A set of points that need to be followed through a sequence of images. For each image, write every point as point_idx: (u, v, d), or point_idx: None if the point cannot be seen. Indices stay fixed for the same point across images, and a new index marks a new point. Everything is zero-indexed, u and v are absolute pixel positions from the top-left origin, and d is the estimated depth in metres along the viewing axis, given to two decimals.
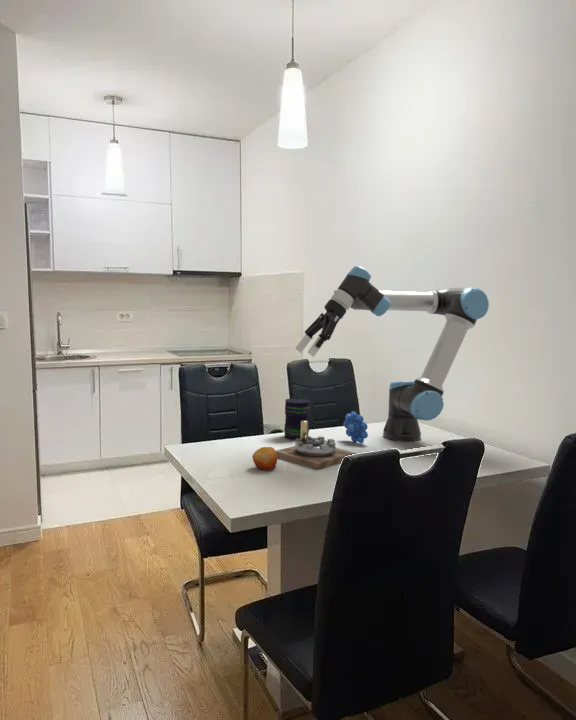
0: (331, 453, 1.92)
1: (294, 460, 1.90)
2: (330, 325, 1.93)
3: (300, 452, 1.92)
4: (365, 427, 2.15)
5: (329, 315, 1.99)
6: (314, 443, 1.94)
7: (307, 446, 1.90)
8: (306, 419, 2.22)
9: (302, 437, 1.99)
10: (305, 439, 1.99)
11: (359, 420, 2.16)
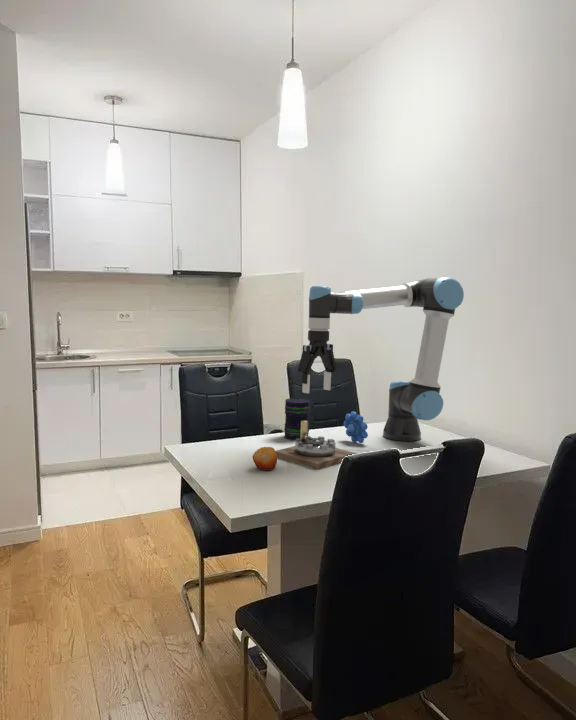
0: (331, 453, 1.92)
1: (294, 460, 1.90)
2: (301, 358, 1.97)
3: (300, 452, 1.92)
4: (365, 427, 2.15)
5: None
6: (314, 443, 1.94)
7: (307, 446, 1.90)
8: (306, 419, 2.22)
9: (302, 437, 1.99)
10: (305, 439, 1.99)
11: (359, 420, 2.16)
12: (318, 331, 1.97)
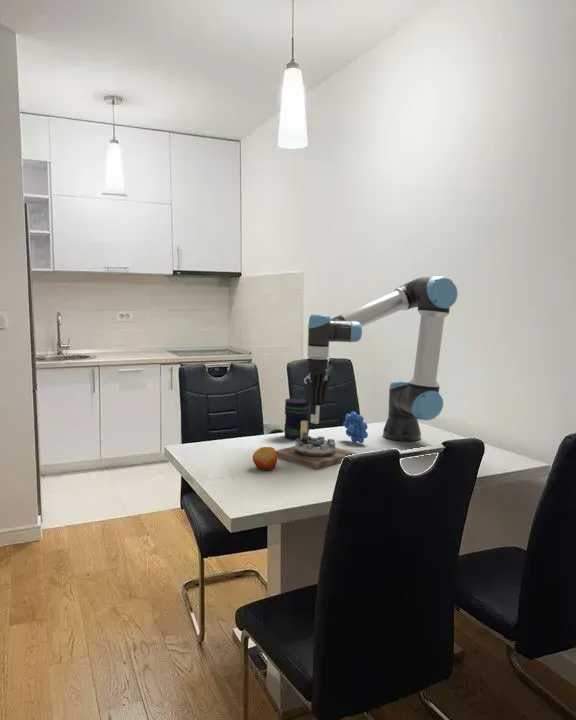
0: (331, 453, 1.92)
1: (294, 460, 1.90)
2: (305, 391, 2.00)
3: (300, 452, 1.92)
4: (365, 427, 2.15)
5: None
6: (314, 443, 1.94)
7: (307, 446, 1.90)
8: (306, 419, 2.22)
9: (302, 437, 1.99)
10: (305, 439, 1.99)
11: (359, 420, 2.16)
12: (317, 359, 1.98)
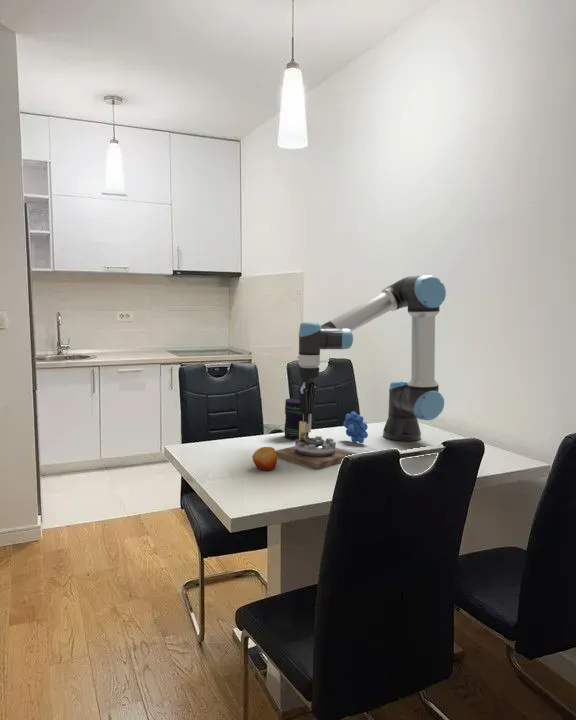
0: (332, 453, 1.93)
1: (294, 460, 1.90)
2: (301, 401, 1.97)
3: (303, 452, 1.91)
4: (365, 427, 2.15)
5: None
6: (315, 443, 1.94)
7: (310, 446, 1.90)
8: None
9: (301, 437, 1.99)
10: (304, 439, 1.99)
11: (359, 420, 2.16)
12: (311, 368, 1.96)
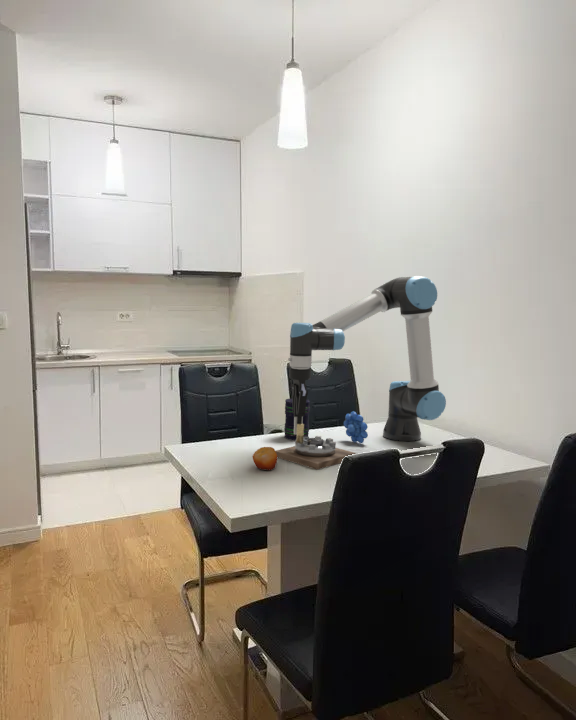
0: None
1: (294, 460, 1.90)
2: (300, 403, 1.92)
3: (319, 454, 1.90)
4: (365, 427, 2.15)
5: (298, 384, 1.94)
6: (321, 443, 1.95)
7: (326, 446, 1.90)
8: (306, 419, 2.22)
9: (301, 440, 1.94)
10: (303, 442, 1.95)
11: (359, 420, 2.16)
12: (308, 369, 1.94)
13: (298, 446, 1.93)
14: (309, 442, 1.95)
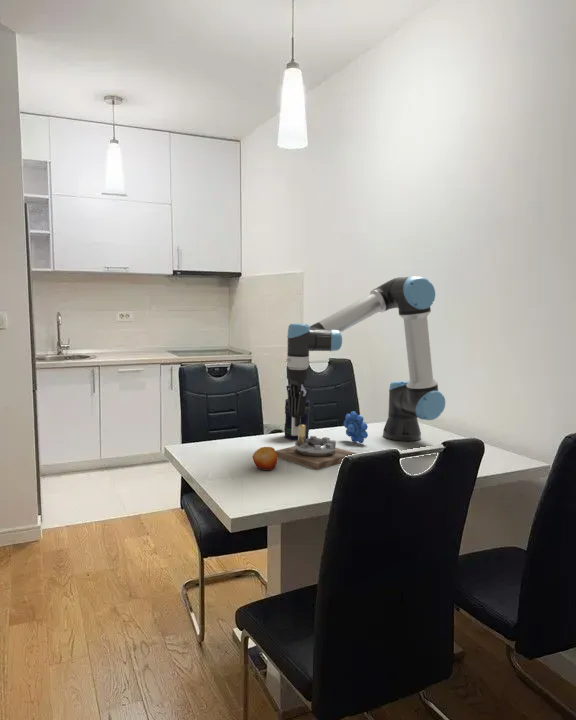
0: None
1: (294, 460, 1.90)
2: (300, 404, 1.93)
3: (324, 454, 1.90)
4: (365, 427, 2.15)
5: (296, 385, 1.94)
6: (322, 442, 1.95)
7: (330, 446, 1.92)
8: (306, 419, 2.22)
9: (304, 441, 1.93)
10: None
11: (359, 420, 2.16)
12: (306, 370, 1.95)
13: (302, 447, 1.91)
14: (311, 442, 1.94)
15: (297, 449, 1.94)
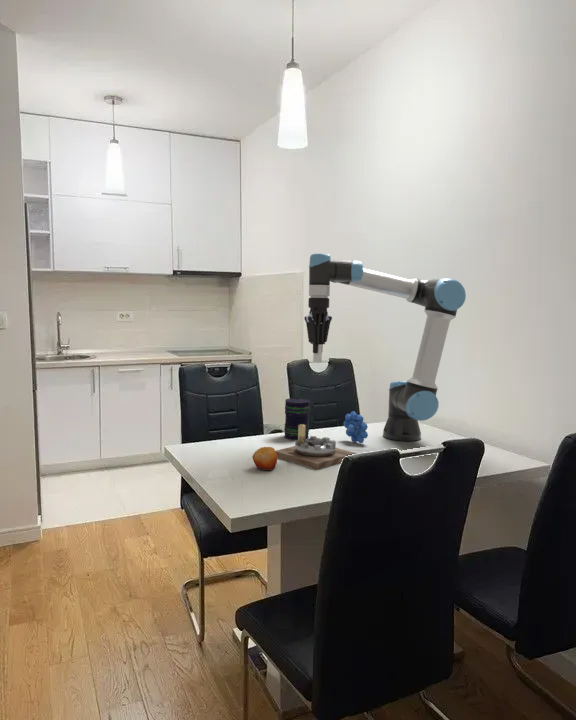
0: None
1: (294, 460, 1.90)
2: (308, 329, 2.03)
3: (324, 454, 1.90)
4: (365, 427, 2.15)
5: None
6: (322, 442, 1.95)
7: (330, 446, 1.92)
8: (306, 419, 2.22)
9: (304, 441, 1.93)
10: None
11: (359, 420, 2.16)
12: (318, 298, 2.01)
13: (302, 447, 1.91)
14: (311, 442, 1.94)
15: (297, 449, 1.94)
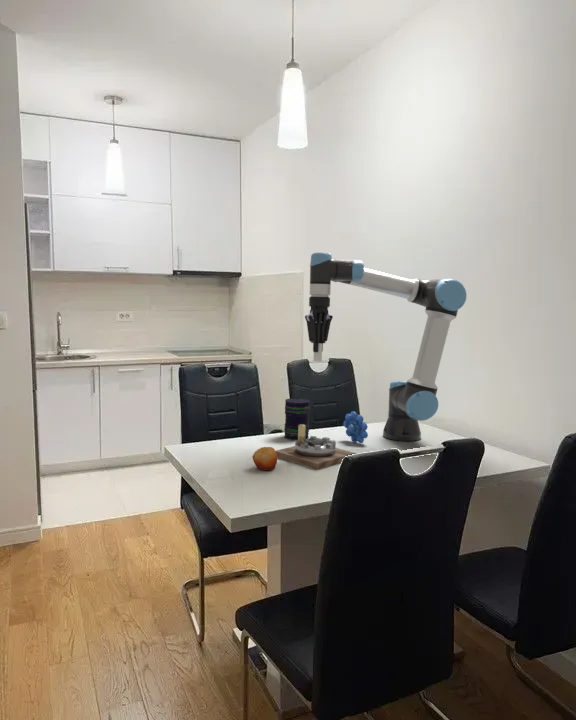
0: None
1: (294, 460, 1.90)
2: (308, 328, 2.03)
3: (324, 454, 1.90)
4: (365, 427, 2.15)
5: None
6: (322, 442, 1.95)
7: (330, 446, 1.92)
8: (306, 419, 2.22)
9: (304, 441, 1.93)
10: None
11: (359, 420, 2.16)
12: (319, 297, 2.01)
13: (302, 447, 1.91)
14: (311, 442, 1.94)
15: (297, 449, 1.94)
